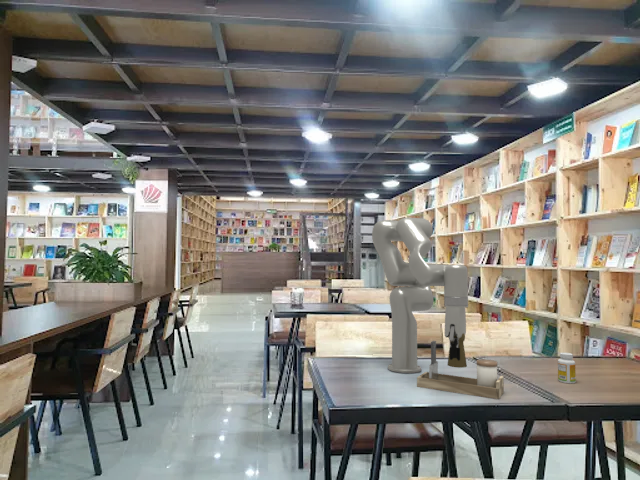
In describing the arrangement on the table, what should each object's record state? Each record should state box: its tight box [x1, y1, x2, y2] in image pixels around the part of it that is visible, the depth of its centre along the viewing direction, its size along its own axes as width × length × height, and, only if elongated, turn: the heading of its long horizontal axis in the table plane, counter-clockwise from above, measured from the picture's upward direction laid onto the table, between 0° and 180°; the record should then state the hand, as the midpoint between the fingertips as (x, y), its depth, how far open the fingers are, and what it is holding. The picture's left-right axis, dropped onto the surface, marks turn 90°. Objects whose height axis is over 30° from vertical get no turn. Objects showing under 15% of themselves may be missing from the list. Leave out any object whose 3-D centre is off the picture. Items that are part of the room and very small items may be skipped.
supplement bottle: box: [557, 352, 577, 384], centre depth 155 cm, size 5×5×10 cm
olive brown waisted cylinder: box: [447, 333, 468, 369], centre depth 145 cm, size 6×6×11 cm
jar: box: [476, 358, 498, 388], centre depth 140 cm, size 6×6×10 cm
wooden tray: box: [416, 371, 505, 400], centre depth 144 cm, size 9×25×5 cm, turn 59°
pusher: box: [428, 340, 439, 380], centre depth 148 cm, size 7×1×14 cm, turn 149°
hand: (456, 358), depth 145 cm, fingers closed on olive brown waisted cylinder, 4 cm apart
